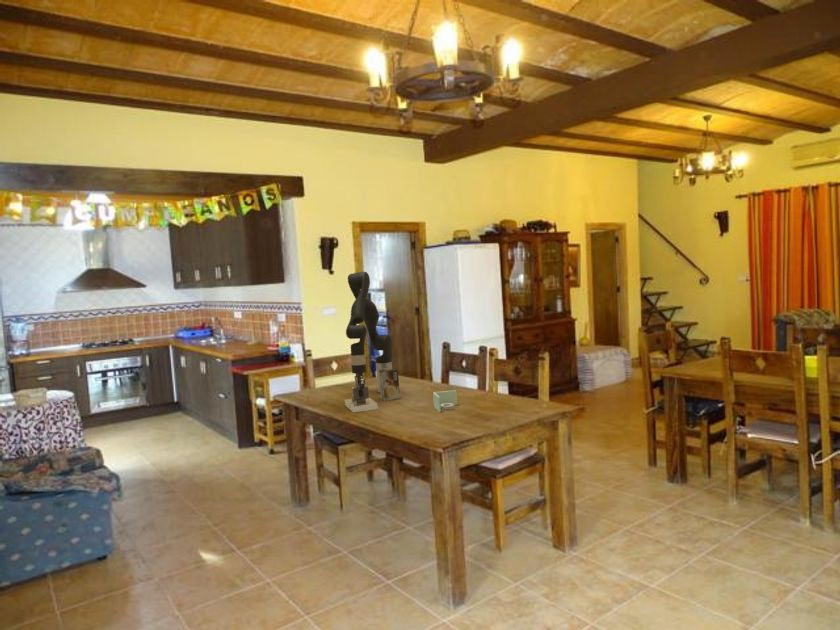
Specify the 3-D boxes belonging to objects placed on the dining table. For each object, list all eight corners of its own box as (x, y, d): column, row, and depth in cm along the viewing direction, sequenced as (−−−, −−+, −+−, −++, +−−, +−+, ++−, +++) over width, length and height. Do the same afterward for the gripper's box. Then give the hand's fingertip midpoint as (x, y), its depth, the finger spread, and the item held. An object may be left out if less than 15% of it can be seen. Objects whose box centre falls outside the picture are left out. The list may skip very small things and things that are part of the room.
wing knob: (367, 399, 316) (366, 384, 315) (369, 401, 311) (368, 386, 311) (352, 401, 314) (351, 386, 313) (354, 403, 309) (353, 388, 308)
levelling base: (368, 402, 324) (368, 392, 324) (377, 409, 307) (376, 398, 307) (345, 405, 320) (344, 395, 320) (352, 412, 303) (352, 401, 303)
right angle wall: (438, 412, 294) (438, 397, 293) (433, 406, 306) (433, 392, 305) (462, 409, 296) (461, 395, 296) (456, 404, 308) (455, 390, 307)
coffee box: (396, 396, 334) (394, 368, 333) (400, 398, 328) (398, 369, 327) (380, 398, 331) (378, 370, 329) (384, 401, 325) (382, 371, 323)
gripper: (368, 364, 305) (371, 397, 307) (362, 360, 319) (364, 392, 320) (354, 366, 303) (356, 399, 305) (348, 362, 316) (350, 394, 318)
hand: (360, 396), depth 312 cm, fingers closed on wing knob, 2 cm apart
